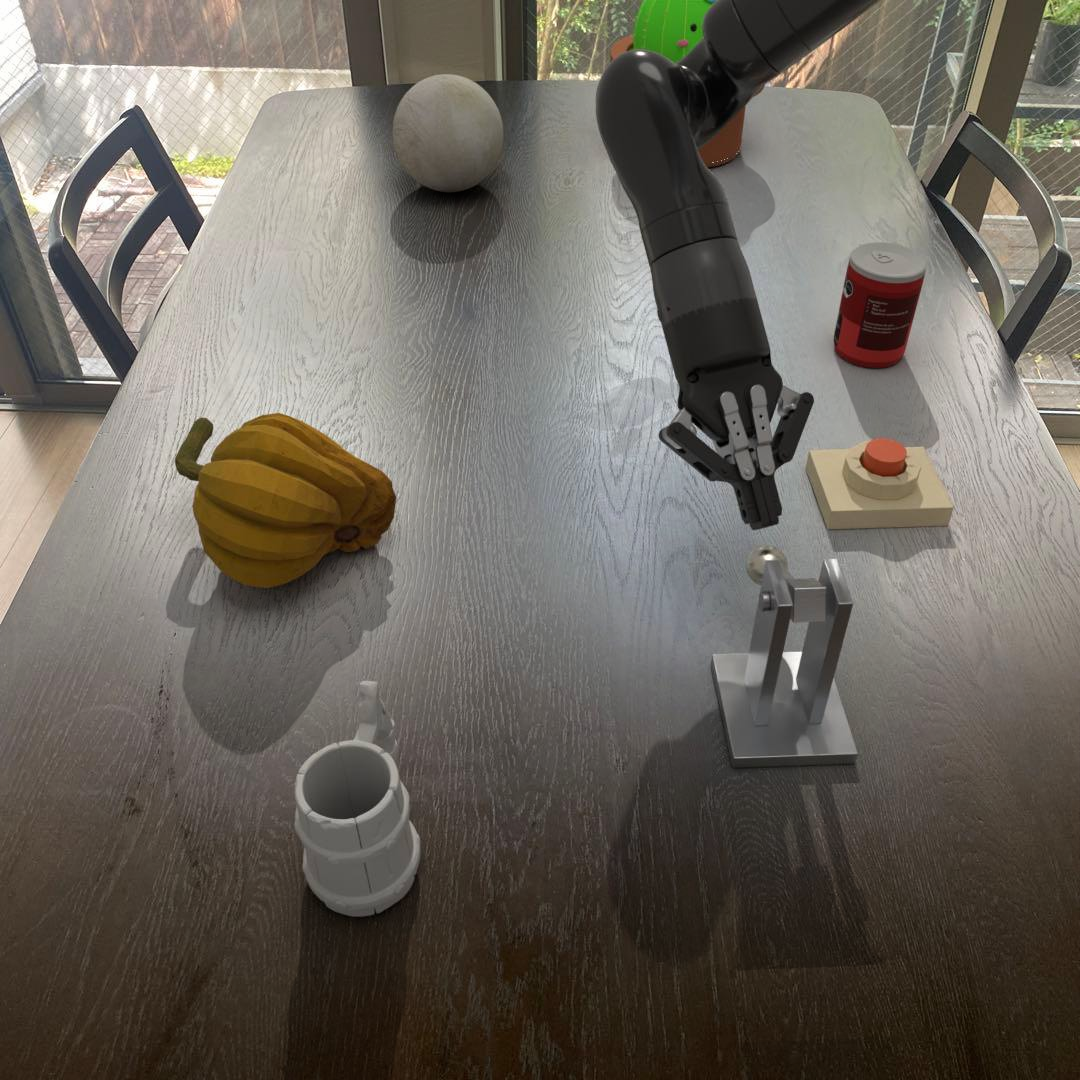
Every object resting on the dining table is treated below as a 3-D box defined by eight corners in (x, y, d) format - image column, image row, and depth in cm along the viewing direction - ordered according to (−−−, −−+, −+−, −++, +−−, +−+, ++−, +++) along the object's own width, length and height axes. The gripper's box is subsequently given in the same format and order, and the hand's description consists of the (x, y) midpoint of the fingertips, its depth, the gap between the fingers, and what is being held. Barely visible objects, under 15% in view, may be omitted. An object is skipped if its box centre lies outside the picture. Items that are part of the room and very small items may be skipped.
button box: (918, 464, 104) (928, 431, 102) (948, 525, 98) (959, 491, 95) (805, 467, 104) (812, 434, 101) (827, 529, 97) (835, 495, 95)
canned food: (859, 324, 124) (879, 234, 116) (918, 352, 119) (943, 261, 112) (816, 347, 120) (834, 256, 113) (876, 378, 115) (898, 285, 108)
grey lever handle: (741, 581, 86) (742, 542, 86) (781, 580, 87) (782, 541, 86) (786, 629, 73) (786, 582, 72) (833, 627, 73) (834, 581, 72)
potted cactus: (593, 125, 168) (598, -53, 151) (728, 115, 171) (748, -62, 154) (627, 184, 152) (636, -8, 135) (776, 171, 155) (803, -18, 138)
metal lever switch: (710, 664, 85) (729, 534, 76) (823, 660, 86) (856, 530, 76) (731, 768, 78) (756, 638, 69) (855, 764, 78) (896, 633, 69)
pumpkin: (342, 651, 89) (108, 572, 88) (391, 541, 103) (187, 471, 101) (379, 524, 81) (122, 435, 80) (426, 422, 95) (206, 344, 93)
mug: (291, 914, 70) (258, 806, 62) (343, 765, 79) (319, 654, 71) (406, 930, 69) (387, 823, 61) (446, 777, 78) (433, 666, 70)
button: (896, 452, 100) (900, 437, 99) (907, 477, 97) (912, 461, 96) (857, 453, 100) (861, 438, 98) (868, 478, 97) (871, 462, 96)
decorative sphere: (467, 219, 144) (461, 106, 134) (376, 196, 150) (364, 85, 140) (524, 178, 154) (523, 69, 144) (437, 157, 159) (429, 51, 149)
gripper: (646, 312, 78) (707, 544, 78) (806, 280, 82) (865, 502, 81) (615, 340, 86) (670, 551, 85) (762, 309, 89) (817, 512, 89)
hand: (765, 527), depth 83 cm, fingers closed
